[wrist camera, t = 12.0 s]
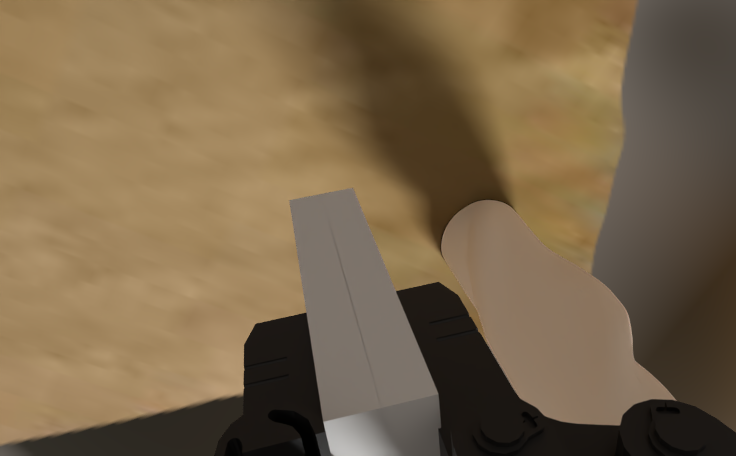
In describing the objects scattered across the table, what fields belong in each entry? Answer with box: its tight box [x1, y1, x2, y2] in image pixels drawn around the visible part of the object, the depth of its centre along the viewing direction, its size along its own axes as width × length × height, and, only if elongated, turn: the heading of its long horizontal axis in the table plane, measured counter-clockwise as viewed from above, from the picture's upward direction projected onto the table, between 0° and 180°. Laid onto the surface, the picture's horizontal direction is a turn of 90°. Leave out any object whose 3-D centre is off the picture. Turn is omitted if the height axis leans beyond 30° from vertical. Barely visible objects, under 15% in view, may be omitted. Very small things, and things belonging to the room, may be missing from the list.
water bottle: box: [441, 200, 676, 425], centre depth 37 cm, size 10×9×28 cm
